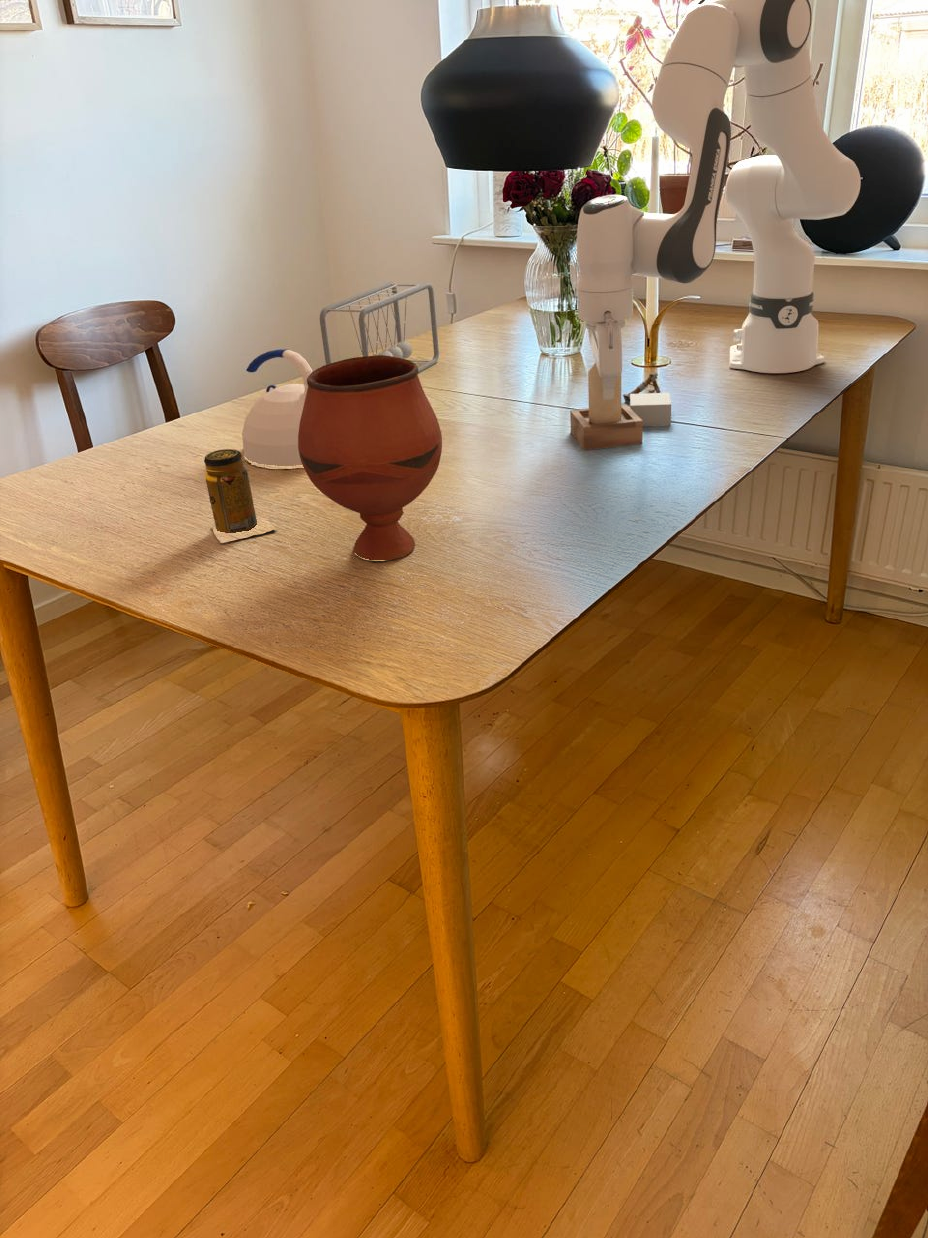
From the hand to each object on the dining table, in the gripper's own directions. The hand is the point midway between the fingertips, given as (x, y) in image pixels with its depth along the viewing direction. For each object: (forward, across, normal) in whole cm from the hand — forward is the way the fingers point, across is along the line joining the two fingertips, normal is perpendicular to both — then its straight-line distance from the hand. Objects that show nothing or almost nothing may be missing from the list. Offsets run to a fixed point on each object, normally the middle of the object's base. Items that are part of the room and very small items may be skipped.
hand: (605, 389), depth 166 cm
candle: (+6, 0, 0) cm, 6 cm away
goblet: (+8, -41, +34) cm, 54 cm away
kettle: (+9, +3, +54) cm, 55 cm away
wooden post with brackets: (+9, +22, -8) cm, 25 cm away
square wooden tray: (+8, 0, 0) cm, 8 cm away
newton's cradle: (+9, +48, +43) cm, 65 cm away
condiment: (+8, -32, +56) cm, 65 cm away
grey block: (+9, +9, -8) cm, 15 cm away
